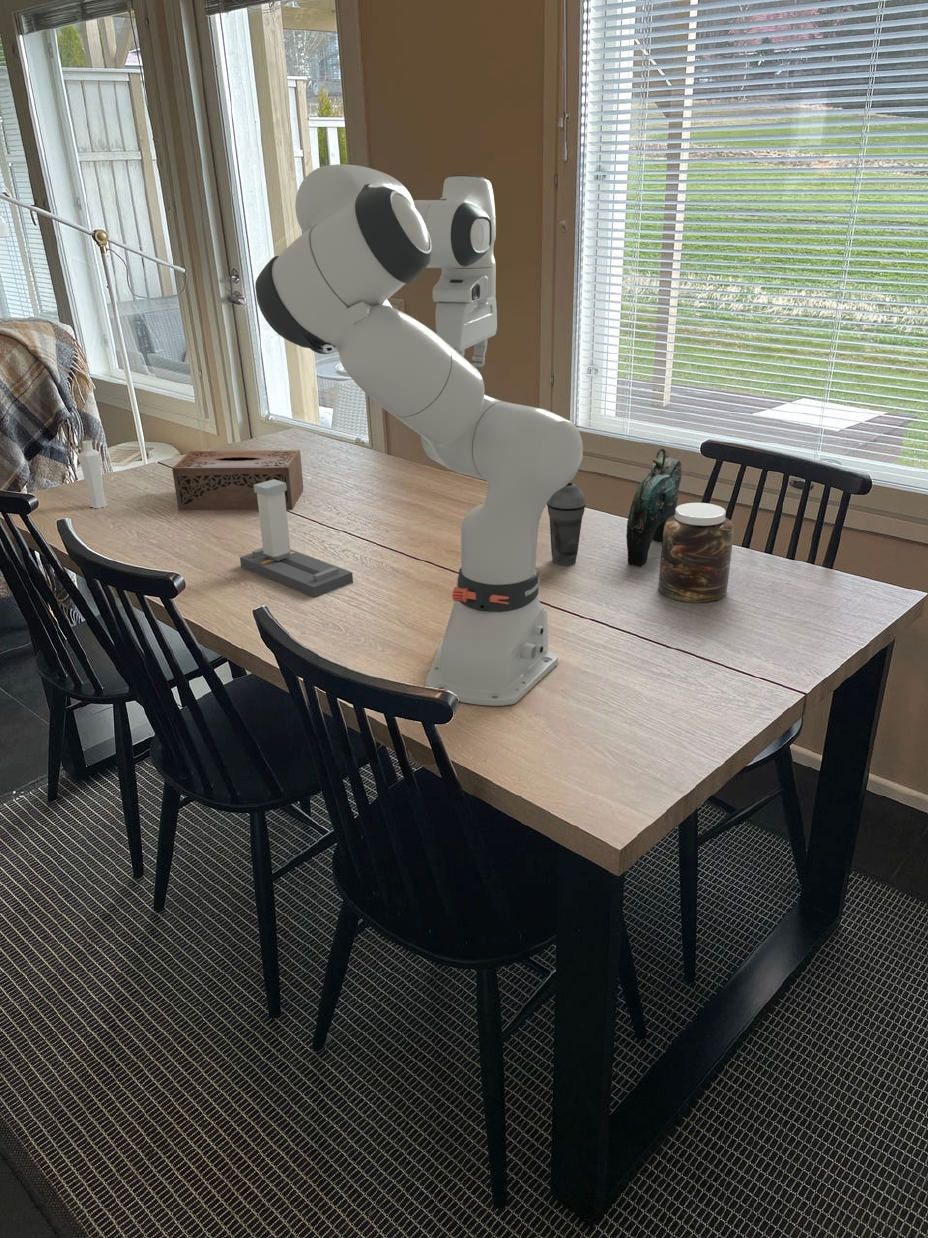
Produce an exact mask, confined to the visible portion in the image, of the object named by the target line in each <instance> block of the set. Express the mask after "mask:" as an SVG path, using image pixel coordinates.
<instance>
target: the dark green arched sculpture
mask: <svg viewBox="0 0 928 1238" xmlns="http://www.w3.org/2000/svg"><path fill="white" fill-rule="evenodd" d="M661 452H662V455H663V457H659V455H660V453H661ZM655 455H656V459H652V463H653V464H652V466H651V468H650V472H648V473H647V474H646V475H645V477H644V478H643V480H642V481H641V482H640V484H638V486H637V489H636V490H635V493H634V496H633V499H632V502H631V505H630V509H629V514H628V517H627V522H626V523H627V524H626V547H627V549H626V550H627V564H628V565H629V566H634V567H639V568H642V567H644V566H645V565H646V563H647V562H648V557H649V550H650V548H651V544H652V541H653V542H654V543H659V544H660V543H661V544H662V540H663V532H664V525H665V521H666V520H667V518H669V517H670V516H672V515H675V509H676V507H677V506H678V499H679V489H680V484H681V482H682V481H681V480H682V462H681V460H679V459H677V458H676V459H675V458H671V457H670V456H669V454H668V452H667V450H665V449H664V448H658V450H656V454H655Z"/></svg>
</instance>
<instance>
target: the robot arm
mask: <svg viewBox="0 0 928 1238" xmlns="http://www.w3.org/2000/svg"><path fill="white" fill-rule="evenodd" d="M441 196H442V197H440V198H439V199H415V200H414V199H413V197H412V195H411V193H410V192H409V190H408V189H407V188H406V187H405V185H403V184H402V182H400V181H399V180H397V178H395V177H393V176H392V175H389V174H387V173H385V172H383V171H379V170H377V169H374V168H371V167H366V166H363V165H356V164H347V163H345V164H343V163H342V164H339V163H338V164H337V163H336V164H330V165H323V166H321V167H318V168H315V169H314V170H312V171H310V172H309V173H308V174H307V176H305V178H304V179H303V180H302V181H301V183H300V185H299V187H298V190H297V193H296V196H295V204H294V205H295V207H294V208H295V215H296V220H297V223H298V225H299V228H300V230H301V231H302V232H303V233H302V234H301V235H300V236H298V237H297V238H296V239H295V240H293V242H291V243H290V244H289V245H288V246H287V247H286V248H285V249H284V250H283V251H282V252H281V253H280V255H276V256H273V257H272V258H271V260H269V261H268V262H267V263H266V265H265V266H264V267H263V269H262V270H261V271H260V273H259V274H258V276H257V278H256V280H255V286H254V288H255V296H256V297H255V298H256V301H257V306H258V308H259V310H260V312H261V314H262V316H263V318H264V319H265V321H266V322H267V323H268V325H269V327H271V328H272V329H273V331H274V332H276V334H277V335H278V336H280V337H281V338H283V339H285V340H287V341H288V342H290V343H292V344H294V345H297V346H299V347H301V348H306V349H310V350H311V351H312V352H314V353H317V354H320V355H329V354H333V353H335V352H336V351H338V355H339V361H340V363H341V366H342V367H343V369H344V371H345V372H346V373H347V374H348V376H349V377H350V378H351V379H352V380H353V381H354V383H355V384H356V385H357V386H358V387H359V388H360V390H362V391H363V392H364V393H365V394H366V395H367V397H369V398H370V399H371V400H373V401H374V402H375V403H376V404H377V406H380V407H381V408H382V409H383V410H385V411H386V412H388V413H389V414H390V415H392V416H393V417H395V419H397V420H399V421H400V422H401V423H402V424H405V425H406V426H407V427H408V428H409V429H411V430H412V431H414V433H417V434H418V435H420V441H421V445H422V448H423V450H424V452H425V453H426V456H427V457H428V458H430V459H431V460H433V461H434V462H436V463H438V464H439V465H442V466H443V467H445V468H446V469H449V470H451V471H453V472H455V473H458V474H462V475H466V476H471V477H473V478H478V479H481V480H485V481H486V484H487V492H486V496H485V501H484V502H483V503H481V504H478V505H477V506H475V507H473V508H472V509H471V510H469V512H468V513H467V514H466V515H465V516H464V518H463V519H462V522H461V525H460V545H461V546H460V548H461V549H460V553H461V554H460V561H461V562H460V565H461V566H460V568H459V570H458V576H457V579H456V587H454V588H453V590H452V596H451V597H452V600H453V605H452V609H451V611H450V615H449V618H448V622H447V626H446V628H445V631H444V632H445V633H444V636H443V639H441V640H440V644H439V645H438V648H437V651H436V653H435V656H434V659H433V661H432V663H431V666H430V669H429V671H428V674H427V677H426V679H425V683H424V687H425V686H427V687H433V688H438V689H444V690H449V691H451V692H453V693H454V694H456V695H457V697H458V698H459V700H460V702H459V703H464V704H465V703H466V704H469V705H470V704H472V705H477V706H478V705H480V706H494V707H495V706H496V707H497V706H508V705H509V706H510V705H514V704H516V703H518V702H519V701H520V700H521V699H522V698H523V697H524V696H525V695H527V694H528V692H529V691H531V690H532V689H533V688H534V687H535V686H536V685H537V684H539V682H540V681H541V680H543V678H544V677H546V675H548V674H549V672H551V671H552V670H553V669H554V668H555V667H556V666H557V665H558V664H559V659H558V655H557V654H555V653H554V652H552V651H550V650H549V628H548V627H549V624H548V623H549V622H548V611H547V610H546V608H545V607H544V606H543V605H542V603H541V602H540V600H539V598H538V595H539V586H540V577H539V569H538V568H537V547H538V535H539V534H538V532H539V526H540V521H541V517H542V514H543V511H544V509H545V507H546V506H547V502H548V500H549V499H550V498H551V496H552V495H553V494H554V493H556V492H557V491H558V490H560V489H562V488H563V487H565V486H566V485H567V484H568V483H571V482H572V480H573V479H574V477H575V476H576V475H577V473H578V471H579V470H580V467H581V463H582V460H583V454H584V453H583V452H584V446H583V444H584V443H583V440H582V436H581V433H580V431H579V428H578V427H577V426H576V424H575V423H574V422H572V421H570V420H568V419H567V418H565V417H563V416H561V415H558V414H557V413H554V412H552V411H550V410H547V409H545V408H541V407H540V408H539V407H533V406H529V405H525V404H524V405H523V404H519V403H514V402H513V403H512V402H509V401H508V402H507V401H504V400H500V399H497V398H494V397H491V396H489V395H487V394H485V389H486V388H485V382H484V379H483V376H482V374H481V373H480V371H479V370H478V369H477V368H481V367H484V366H485V362H486V361H485V359H486V357H485V356H486V353H487V352H486V351H487V347H488V339H490V338H492V337H494V336H495V335H497V334H496V333H497V330H498V311H497V310H498V309H497V299H496V295H497V294H496V293H497V291H496V280H497V279H496V278H497V277H496V275H497V271H496V270H497V269H496V268H497V266H496V265H497V263H496V259H495V256H494V255H495V254H494V246H495V241H496V237H497V234H496V233H497V224H496V222H497V219H496V218H497V217H496V207H495V206H496V204H495V196H494V189H493V186H492V182H491V181H490V180H489V179H487V178H485V177H483V176H479V175H472V174H455V175H451V176H448V177H447V178H445V179H444V182H443V187H442V195H441ZM427 268H428V269H429V268H430V269H441V274H440V277H439V279H438V281H437V283H435V285H434V286H433V288H432V301H433V302H434V303H435V302H436V305H435V312H434V313H435V316H434V317H435V331H436V332H435V331H433V330H432V329H431V328H429V326H428V327H427V325H425V324H423V323H422V322H420V321H419V320H417V319H415V318H414V317H412V316H410V315H409V314H407V313H405V312H403V311H401V310H399V309H397V308H395V307H393V306H392V305H391V302H390V301H389V300H388V299H390V298H391V297H393V295H394V294H395V293H397V292H398V291H399V290H400V289H401V288H403V287H404V285H406V284H407V285H408V284H411V283H412V282H414V281H415V280H416V279H417V278H418V277H419V276H420V275H421V274H422V273H423V272H424V270H426V269H427ZM472 346H474V350H473V355H472V356H471V357H472V359H471V360H472V362H471V363H470V361H468V360H467V359H466V358H465V357H464V356H465V352H466V349H469V348H470V347H472Z"/></svg>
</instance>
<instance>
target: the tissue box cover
mask: <svg viewBox="0 0 928 1238" xmlns="http://www.w3.org/2000/svg"><path fill="white" fill-rule="evenodd" d="M302 467H303V466H302V458H301V450H300V449H298V450H297V449H295V450H293V449H291V450H289V449H288V450H286V449H285V450H282V449H281V450H276V449H275V450H273V449H272V450H269V449H268V450H267V449H266V450H190V451H189V452H188V453H187V454H186V455H185V456H184V457H183V458H182V459H180V460H179V461H178V462H177V463H176V464H175V465H174V466H173V467H172V469H171V470H172V477H173V483H174V489H175V490H174V491H175V497H176V504H177V508H178V509H177V510H178V511H259V508H258V499H257V493H255V492H254V485H255V484H259V483H262V482H266V481H270V480H273V479H275V480H278V481H281V482H285V483H286V488H287V490H286V491H285V502H286V511H293V510H294V509H295V506H296V505H295V504H297V503H298V501H299V499H300V498H299V497H301V496H302V494H303V492H304V491H303V489H304V479H303V470H302V469H303V468H302ZM296 502H297V503H296Z"/></svg>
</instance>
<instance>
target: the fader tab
mask: <svg viewBox="0 0 928 1238" xmlns="http://www.w3.org/2000/svg"><path fill="white" fill-rule="evenodd" d="M286 490H287V488H286V483H285V482H281V481H278V480H275V479H273V480H270V481H266V482H262V483H259V484H255V485H254V492H255V493H257V499H258V508H259V510H258V516H259V524H260V525H259V526H260V534H261V542H262V548H263V553H264V555H265V556H266V557H269V558H271V559H274V560H276V561H279V560H282V559H285V558H287V557H290V549H291V546H290V536H289V535H290V534H289V532H290V531H289V524H288V523H289V522H288V513H287V510H286V502H285V491H286Z"/></svg>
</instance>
